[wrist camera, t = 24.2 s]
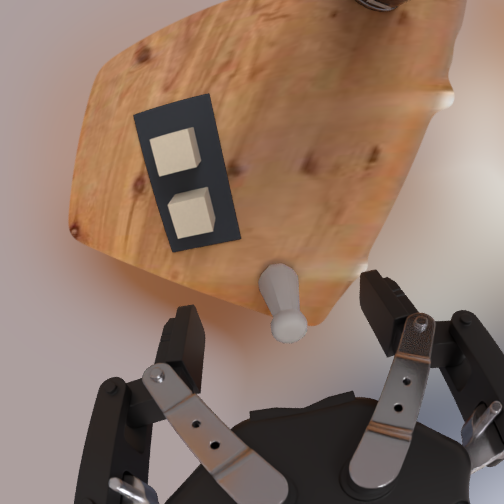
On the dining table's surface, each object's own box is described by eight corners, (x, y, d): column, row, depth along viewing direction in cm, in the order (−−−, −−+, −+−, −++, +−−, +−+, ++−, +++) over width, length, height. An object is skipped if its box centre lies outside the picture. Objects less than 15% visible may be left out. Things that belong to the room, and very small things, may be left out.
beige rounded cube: (158, 136, 33) (148, 139, 29) (193, 126, 33) (187, 128, 29) (167, 169, 35) (158, 176, 31) (201, 160, 35) (196, 167, 31)
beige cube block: (174, 194, 36) (166, 205, 32) (207, 186, 36) (204, 196, 32) (183, 225, 39) (177, 239, 35) (215, 218, 38) (213, 231, 34)
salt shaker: (250, 280, 44) (255, 341, 32) (270, 251, 41) (283, 307, 30) (281, 295, 45) (296, 356, 34) (303, 268, 43) (325, 325, 32)
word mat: (134, 115, 32) (133, 115, 31) (209, 93, 31) (209, 93, 31) (173, 251, 41) (172, 252, 40) (241, 237, 40) (241, 239, 40)
